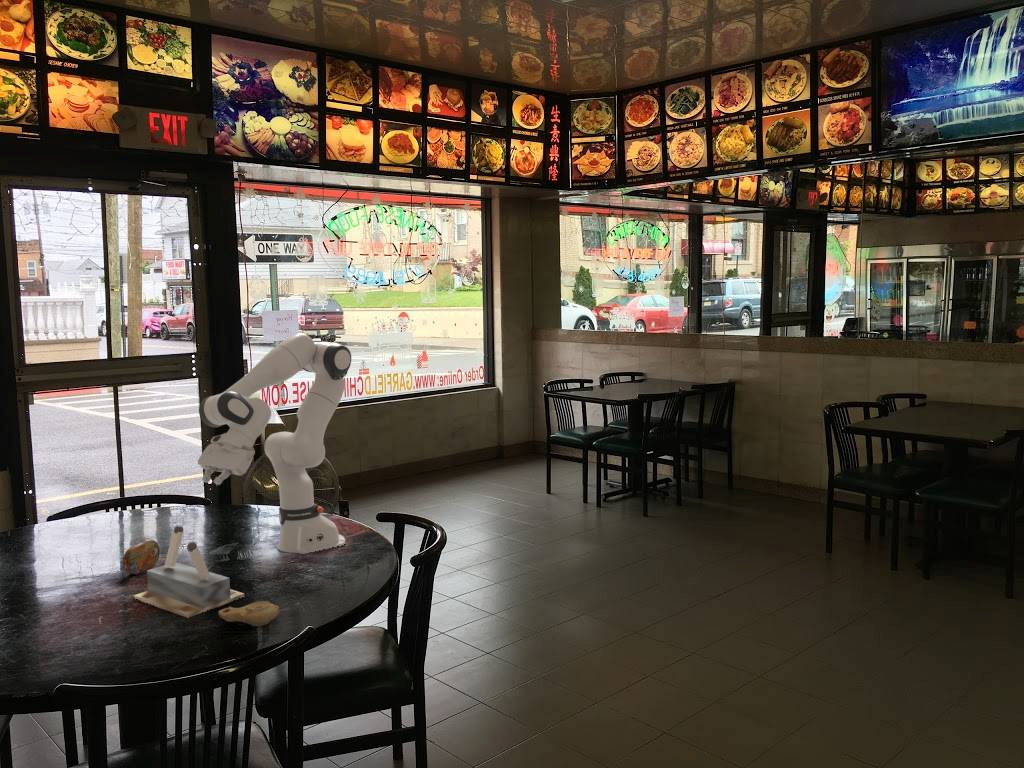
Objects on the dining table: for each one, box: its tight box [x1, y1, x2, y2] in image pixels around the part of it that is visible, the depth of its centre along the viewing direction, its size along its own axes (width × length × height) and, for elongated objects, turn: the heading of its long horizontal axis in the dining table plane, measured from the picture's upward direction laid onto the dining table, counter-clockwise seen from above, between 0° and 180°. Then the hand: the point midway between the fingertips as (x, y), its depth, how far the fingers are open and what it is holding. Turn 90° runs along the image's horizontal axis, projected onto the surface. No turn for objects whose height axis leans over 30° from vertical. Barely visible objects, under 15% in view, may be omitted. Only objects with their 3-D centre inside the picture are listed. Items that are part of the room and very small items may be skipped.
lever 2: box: [186, 541, 211, 580], centre depth 228 cm, size 3×3×12 cm
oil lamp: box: [217, 600, 280, 627], centre depth 217 cm, size 11×14×5 cm
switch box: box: [133, 561, 245, 619], centre depth 237 cm, size 18×26×7 cm
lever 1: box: [164, 525, 184, 567], centre depth 242 cm, size 3×3×12 cm
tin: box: [122, 539, 160, 575], centre depth 262 cm, size 15×3×8 cm, turn 168°
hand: (210, 482), depth 251 cm, fingers open, 4 cm apart
